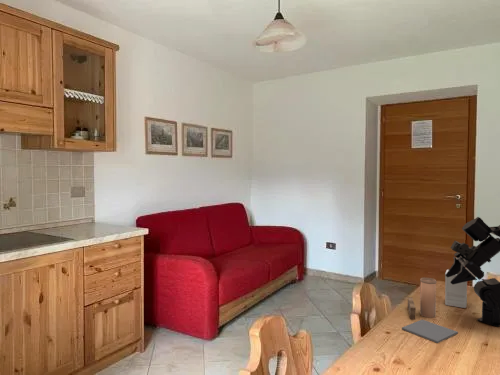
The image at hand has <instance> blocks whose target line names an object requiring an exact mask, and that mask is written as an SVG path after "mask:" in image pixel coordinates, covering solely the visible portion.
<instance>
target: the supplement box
mask: <svg viewBox="0 0 500 375" xmlns="http://www.w3.org/2000/svg"><path fill="white" fill-rule="evenodd" d="M448 271H449V269H446V271H445V273H444V280H445V284H444V285H445V286H444V293H445V294H444V295H445V296H444V299H445V300H444V304H445V306H451V307H458V308H463V309H467V304H468V281H467V282H462V283H458V284H451V280H452V279H453V278H454V277H455V276H456V275H457V274H456V275H454V276H451V277H447V276H446V273H447V272H448Z"/></svg>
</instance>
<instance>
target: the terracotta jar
mask: <svg viewBox="0 0 500 375" xmlns="http://www.w3.org/2000/svg"><path fill="white" fill-rule="evenodd" d="M419 300H420V301H419V302H420V303H419V304H420V305H419V306H420V307H419V308H420V309H419V315H421V316H422V317H425V318H428V319H429V318H430V319H433V318H436V310H437V308H436V305H437V304H436V302H437V280H436V279H435V278H433V277H432V278H431V277H421V278H420V299H419Z"/></svg>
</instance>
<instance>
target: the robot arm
mask: <svg viewBox="0 0 500 375" xmlns="http://www.w3.org/2000/svg"><path fill="white" fill-rule="evenodd" d="M461 229H462V231H463V232H464V233H466V235H468V236H469V237H470V238H471V239H472V240H473V241H474V242H480V243H478V245H472V246H471V247H470V245H469V244H468V243H465V242H459V241H457V240H454V241H453V242H452V245H450V249H451V250H452V251H453V252H455V253H454V254H453V255H454V256H453V263H452V265H451V266H450V268H448V270H449V271H448V272H447V273H446V272H445V273H446V276H447V277H451V276H454V275H456V274H457V275H456V276H455V277H454V278H453V279H452V280H451V284H458V283H462V282H467V283H468V282H471V281H477V280H478V281H477V282H476V283H475V284H474V285H473V291H474V293H475V295H477V297H478V298H479V299H480V300H481V301H482V302H481V317H480V318H477V320H476V321H477V322H480V323H483V324H485V325H486V324H487V325H490V326H493V327H497V328H499V327H500V281H499V280H498V279H497V278H495V277H494V278H493V277H491V278H487V279H484V277H485V272H484V270H482V266H483V265H484V264H486V263H490V262H492V260H491V259H492V258H494V257H495V256H497V255H498V254H499V253H500V224H499V225H497V226H489V225H488V224H487V223H486V222H485V221H484V220H483V219H482V218H481V217H480V216H477V217H476V218H473V219H472V220H470V221H467V222H466V223H465V224H464V225H463V226H462V228H461ZM493 235H494V236H496V237H494V236H493Z"/></svg>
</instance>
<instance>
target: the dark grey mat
mask: <svg viewBox="0 0 500 375" xmlns="http://www.w3.org/2000/svg"><path fill="white" fill-rule="evenodd" d="M401 330H402V331H405V332H408V333H410V334H413V335H415V336H418V337H420V338H424V339H425V340H428V341H431V342H433V343H436V344H439V343H441V342H443V341H445V340H448V339H449V338H451V337H454V336H455V335H457V334H458V331H457V330H453V329H451V328H448V327H446V326H443V325H439V324H437V323H434V322H431V321H428V320H425V319H420V320H418V321H414V322H412V323H410V324H408V325H404V326H403V327H401Z"/></svg>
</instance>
